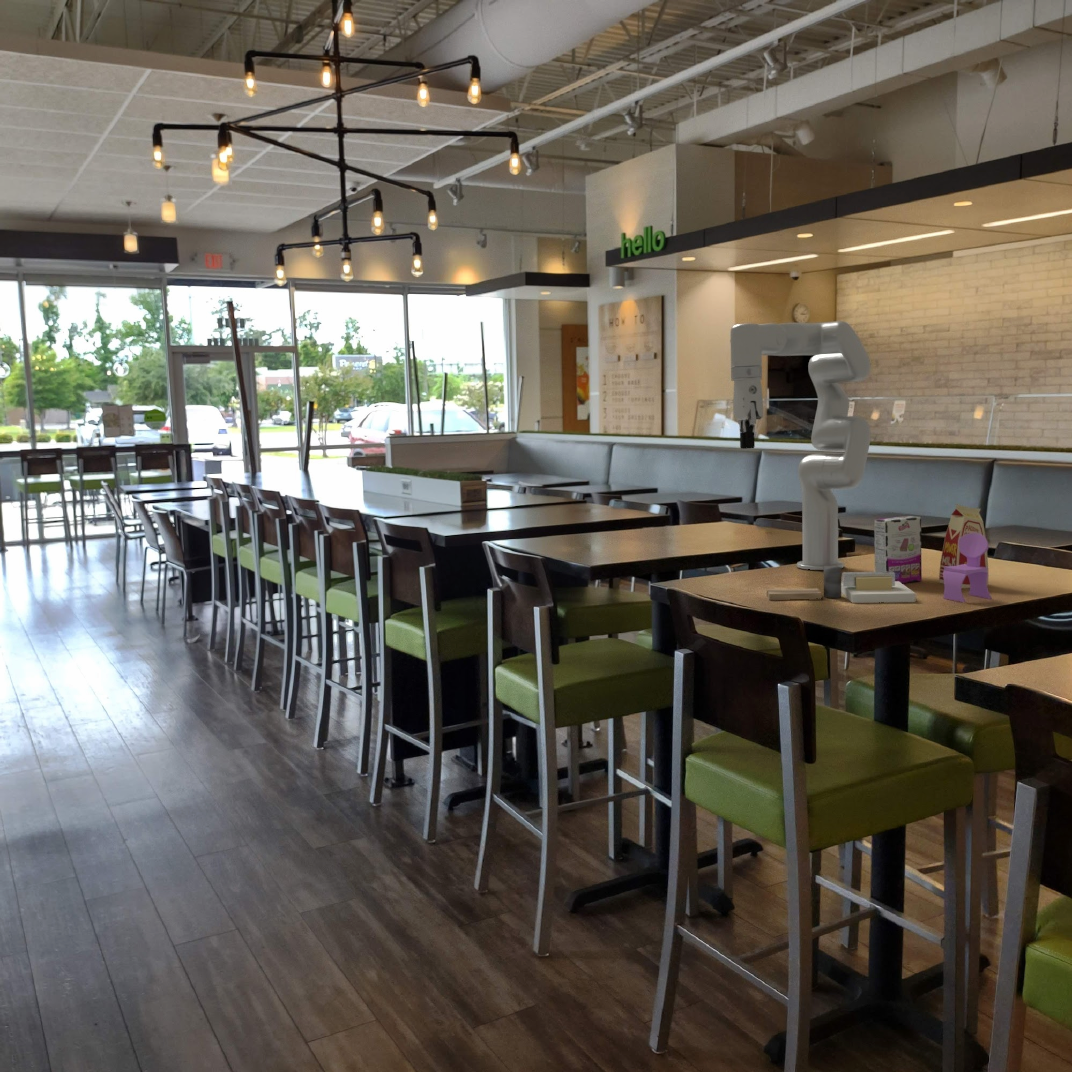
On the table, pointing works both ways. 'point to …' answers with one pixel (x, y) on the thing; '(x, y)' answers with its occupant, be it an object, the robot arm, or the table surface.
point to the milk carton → (959, 526)
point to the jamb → (830, 589)
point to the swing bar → (850, 577)
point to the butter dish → (877, 591)
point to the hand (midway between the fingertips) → (747, 448)
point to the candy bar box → (899, 547)
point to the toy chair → (968, 569)
